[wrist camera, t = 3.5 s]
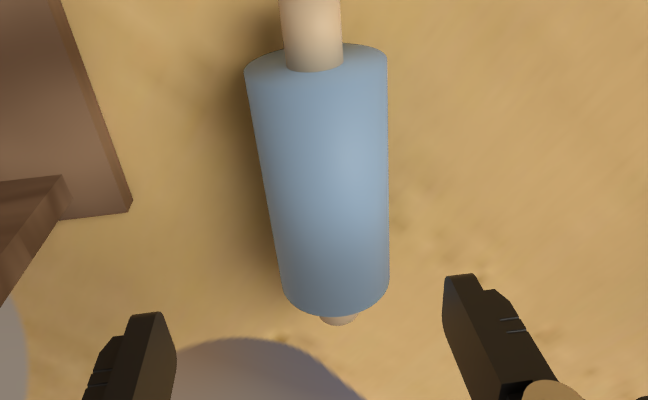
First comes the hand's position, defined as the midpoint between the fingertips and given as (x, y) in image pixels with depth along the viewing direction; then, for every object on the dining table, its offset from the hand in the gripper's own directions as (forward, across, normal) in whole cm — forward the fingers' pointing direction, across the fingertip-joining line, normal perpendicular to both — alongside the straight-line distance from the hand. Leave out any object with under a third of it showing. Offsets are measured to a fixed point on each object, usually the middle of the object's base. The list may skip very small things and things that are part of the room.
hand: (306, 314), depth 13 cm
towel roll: (+9, -1, 0) cm, 9 cm away
